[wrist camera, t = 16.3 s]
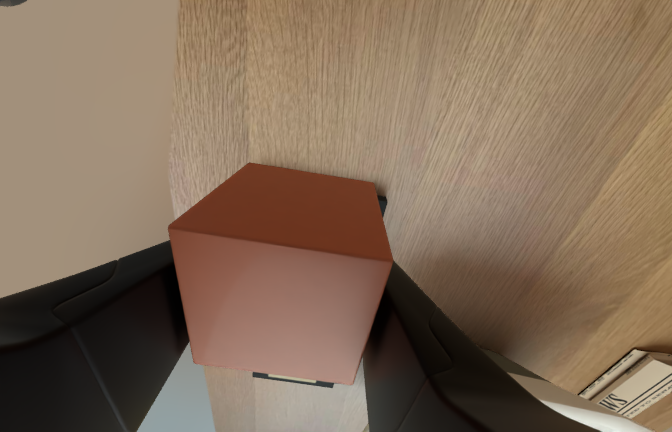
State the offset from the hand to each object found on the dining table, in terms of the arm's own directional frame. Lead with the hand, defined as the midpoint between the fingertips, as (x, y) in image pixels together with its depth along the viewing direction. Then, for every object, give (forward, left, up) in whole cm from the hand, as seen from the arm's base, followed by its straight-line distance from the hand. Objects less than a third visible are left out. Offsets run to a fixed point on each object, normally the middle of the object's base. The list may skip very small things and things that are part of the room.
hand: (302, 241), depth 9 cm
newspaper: (+39, -26, -11) cm, 49 cm away
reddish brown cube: (0, 0, -1) cm, 1 cm away
